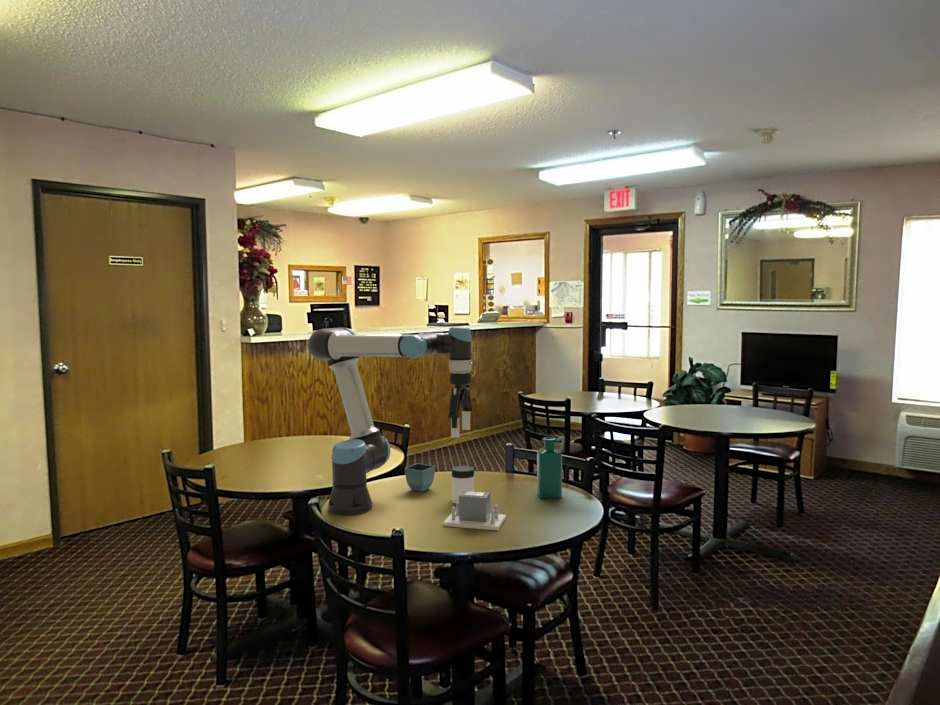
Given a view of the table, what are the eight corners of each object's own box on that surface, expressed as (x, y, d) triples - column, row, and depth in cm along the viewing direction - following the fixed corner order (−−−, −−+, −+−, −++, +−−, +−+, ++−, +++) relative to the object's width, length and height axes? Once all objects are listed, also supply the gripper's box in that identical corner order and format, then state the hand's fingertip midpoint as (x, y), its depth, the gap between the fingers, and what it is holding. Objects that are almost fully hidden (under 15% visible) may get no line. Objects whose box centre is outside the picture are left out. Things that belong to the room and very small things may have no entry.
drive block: (459, 520, 209) (458, 495, 209) (464, 514, 215) (463, 490, 214) (486, 522, 207) (485, 497, 206) (490, 516, 213) (490, 492, 212)
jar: (458, 506, 228) (458, 472, 227) (446, 500, 235) (446, 468, 234) (479, 501, 233) (479, 469, 232) (467, 496, 240) (467, 464, 239)
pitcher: (539, 499, 235) (539, 439, 233) (536, 492, 243) (536, 435, 242) (566, 498, 235) (566, 439, 234) (562, 492, 244) (562, 434, 242)
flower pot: (422, 494, 242) (422, 470, 242) (404, 491, 247) (403, 467, 246) (436, 488, 250) (435, 465, 249) (417, 485, 255) (417, 463, 254)
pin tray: (443, 525, 207) (443, 510, 207) (453, 514, 219) (453, 499, 219) (497, 530, 203) (497, 514, 202) (505, 518, 214) (505, 502, 214)
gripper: (460, 376, 208) (461, 441, 209) (480, 368, 232) (480, 427, 233) (438, 375, 210) (439, 440, 211) (460, 368, 234) (460, 426, 235)
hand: (460, 433), depth 222 cm, fingers open, 13 cm apart
